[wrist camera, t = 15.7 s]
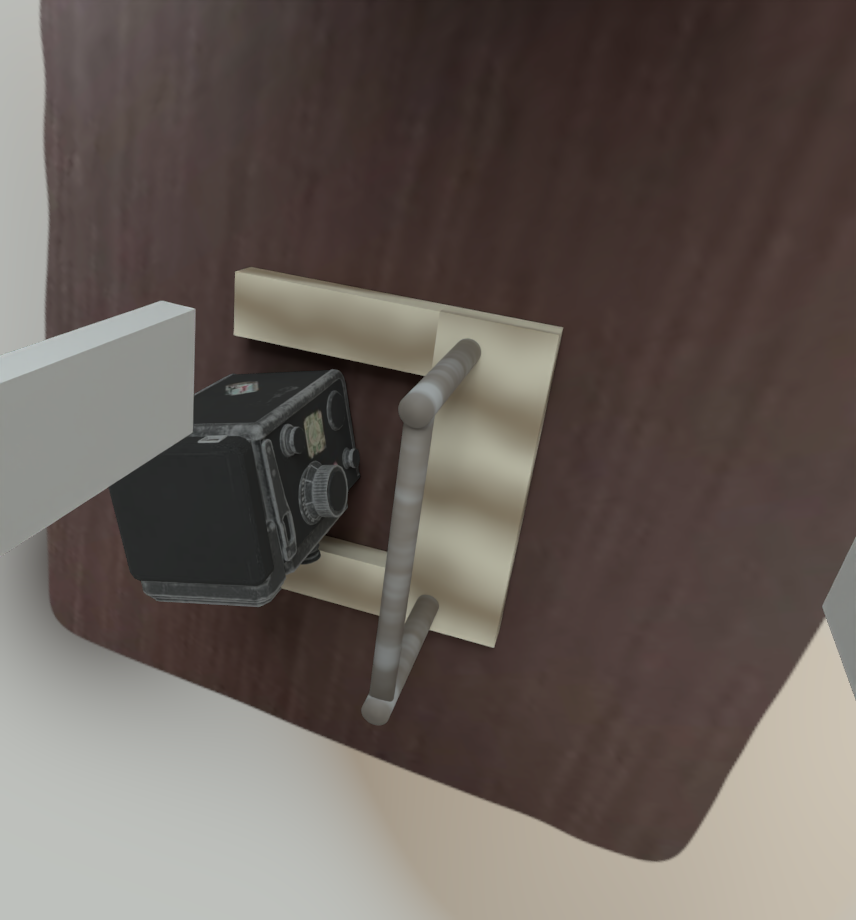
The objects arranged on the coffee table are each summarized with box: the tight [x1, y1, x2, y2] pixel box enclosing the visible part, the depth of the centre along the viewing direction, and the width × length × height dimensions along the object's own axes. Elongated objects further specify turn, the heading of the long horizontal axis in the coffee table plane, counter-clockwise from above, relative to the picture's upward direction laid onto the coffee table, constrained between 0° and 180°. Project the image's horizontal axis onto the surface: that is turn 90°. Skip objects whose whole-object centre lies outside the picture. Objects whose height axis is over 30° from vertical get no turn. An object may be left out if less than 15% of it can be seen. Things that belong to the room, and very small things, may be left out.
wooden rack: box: [234, 267, 563, 725], centre depth 44 cm, size 22×20×13 cm
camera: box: [109, 369, 360, 607], centre depth 44 cm, size 10×10×15 cm
